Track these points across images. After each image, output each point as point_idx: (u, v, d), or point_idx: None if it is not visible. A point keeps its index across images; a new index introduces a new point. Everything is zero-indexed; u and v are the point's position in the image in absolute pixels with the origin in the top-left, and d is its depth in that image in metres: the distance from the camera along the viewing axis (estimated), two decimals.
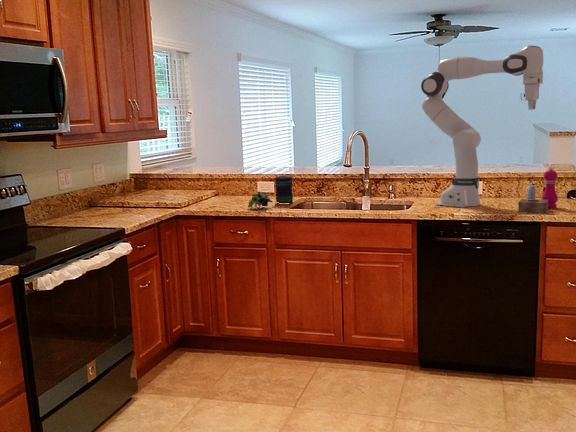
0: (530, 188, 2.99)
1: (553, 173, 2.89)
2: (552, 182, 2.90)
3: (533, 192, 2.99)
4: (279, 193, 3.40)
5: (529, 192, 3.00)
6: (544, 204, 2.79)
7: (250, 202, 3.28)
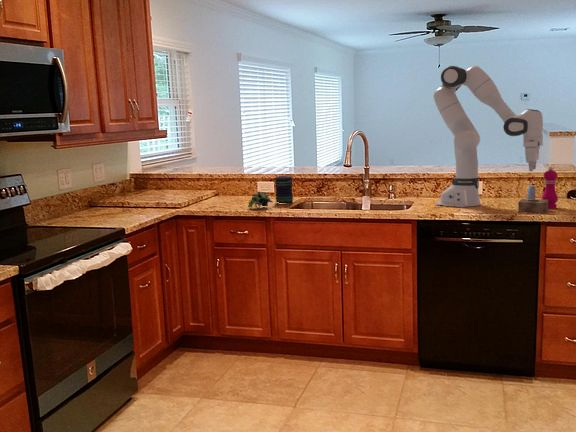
0: (530, 188, 2.99)
1: (553, 173, 2.89)
2: (552, 182, 2.90)
3: (533, 192, 2.99)
4: (279, 193, 3.40)
5: (529, 192, 3.00)
6: (544, 204, 2.79)
7: (250, 202, 3.28)
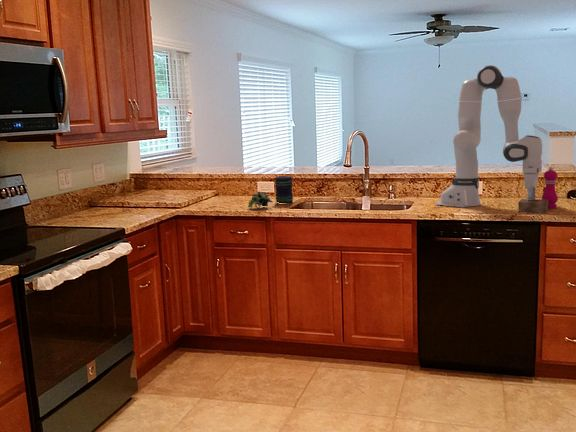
0: None
1: (553, 173, 2.89)
2: (552, 182, 2.90)
3: (533, 192, 2.99)
4: (279, 193, 3.40)
5: None
6: (544, 204, 2.79)
7: (250, 202, 3.28)
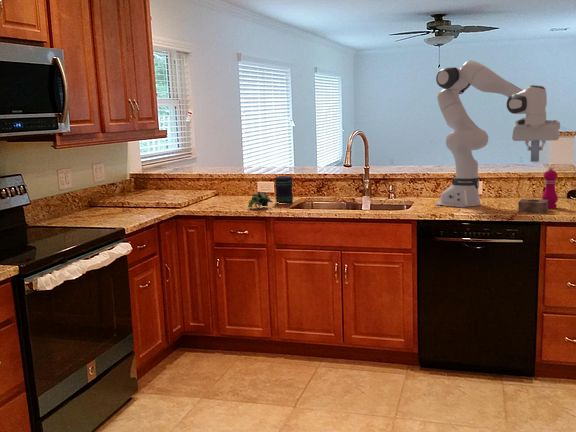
0: None
1: (553, 173, 2.89)
2: (552, 182, 2.90)
3: (531, 146, 2.81)
4: (279, 193, 3.40)
5: None
6: (544, 204, 2.79)
7: (250, 202, 3.28)
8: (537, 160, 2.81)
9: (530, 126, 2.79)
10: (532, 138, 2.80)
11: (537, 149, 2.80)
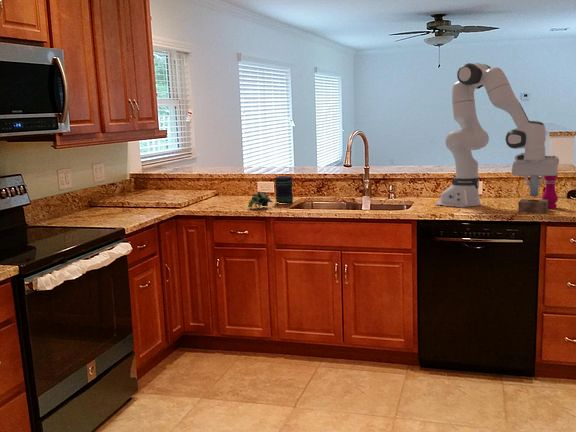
0: None
1: None
2: (552, 182, 2.90)
3: (531, 181, 2.84)
4: (279, 193, 3.40)
5: None
6: (544, 204, 2.79)
7: (250, 202, 3.28)
8: (536, 195, 2.84)
9: (529, 161, 2.82)
10: (531, 173, 2.83)
11: (536, 184, 2.83)
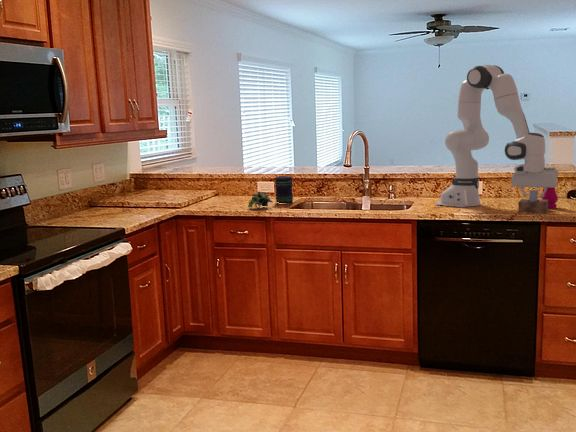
0: None
1: None
2: None
3: (530, 197, 2.85)
4: (279, 193, 3.40)
5: None
6: (544, 204, 2.79)
7: (250, 202, 3.28)
8: None
9: (529, 173, 2.83)
10: (531, 185, 2.84)
11: (535, 200, 2.84)
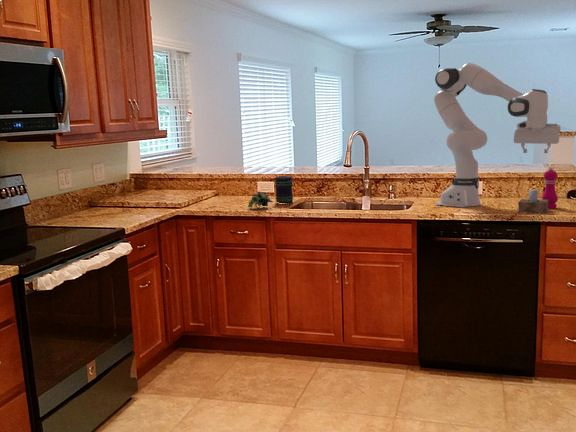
0: None
1: (553, 173, 2.89)
2: (552, 182, 2.90)
3: (530, 197, 2.85)
4: (279, 193, 3.40)
5: None
6: (544, 204, 2.79)
7: (250, 202, 3.28)
8: None
9: (531, 129, 2.86)
10: (533, 141, 2.87)
11: (535, 200, 2.84)
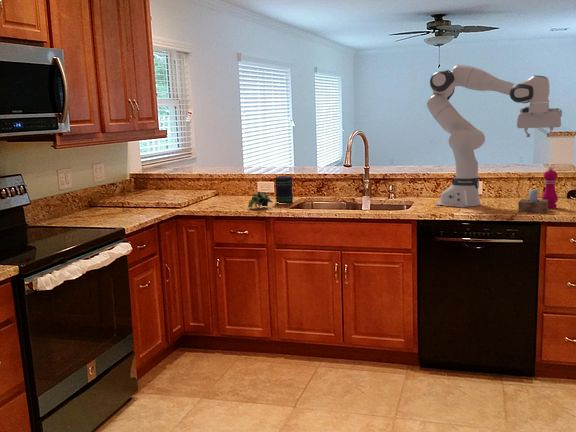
0: None
1: (553, 173, 2.89)
2: (552, 182, 2.90)
3: (530, 197, 2.85)
4: (279, 193, 3.40)
5: None
6: (544, 204, 2.79)
7: (250, 202, 3.28)
8: None
9: (534, 114, 2.96)
10: (535, 125, 2.97)
11: (535, 200, 2.84)
